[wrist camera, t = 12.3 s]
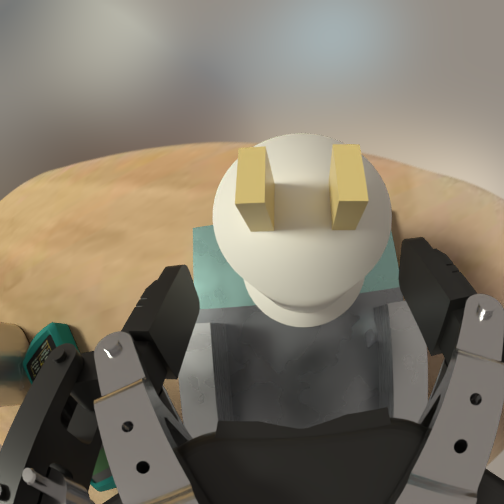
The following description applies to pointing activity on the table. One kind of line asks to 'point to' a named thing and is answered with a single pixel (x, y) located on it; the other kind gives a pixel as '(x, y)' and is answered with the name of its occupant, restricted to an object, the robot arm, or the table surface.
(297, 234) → the plug
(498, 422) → the robot arm
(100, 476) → the digital multimeter
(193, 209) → the table surface
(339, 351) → the housing
